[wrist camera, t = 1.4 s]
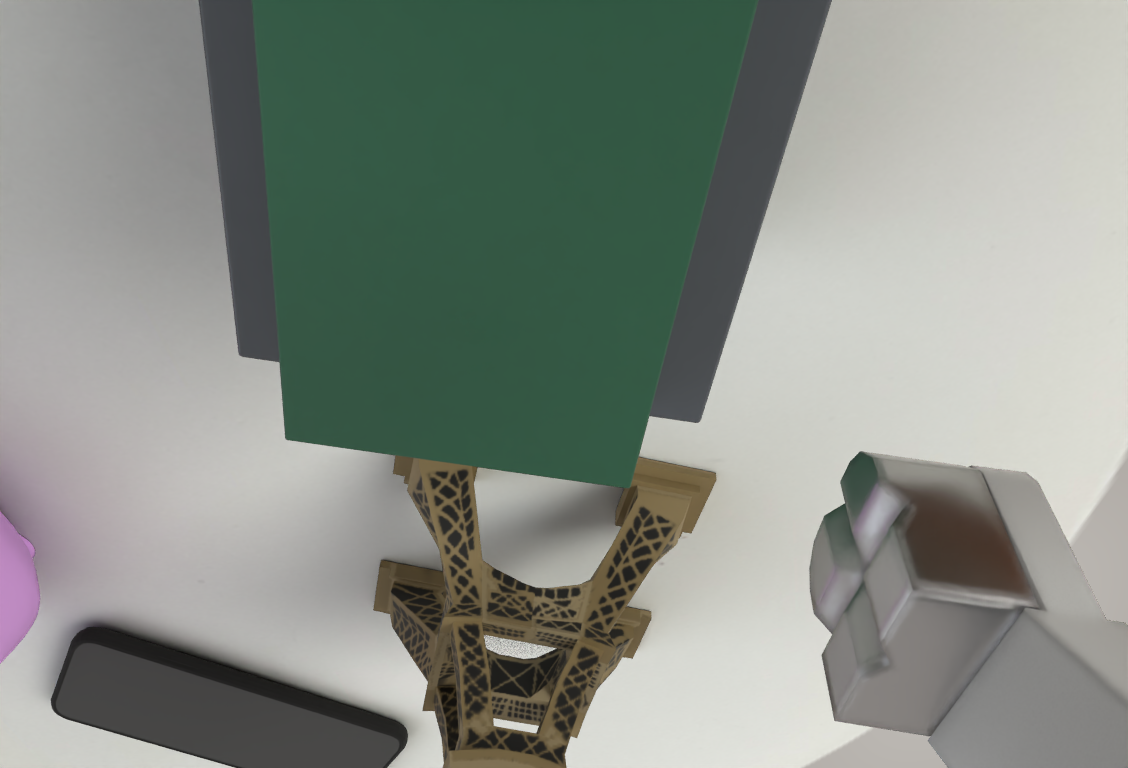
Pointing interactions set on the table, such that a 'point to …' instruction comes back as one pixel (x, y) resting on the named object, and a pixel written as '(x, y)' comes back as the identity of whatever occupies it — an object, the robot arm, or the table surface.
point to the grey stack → (723, 239)
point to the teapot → (16, 587)
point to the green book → (487, 218)
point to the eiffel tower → (524, 615)
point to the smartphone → (214, 709)
